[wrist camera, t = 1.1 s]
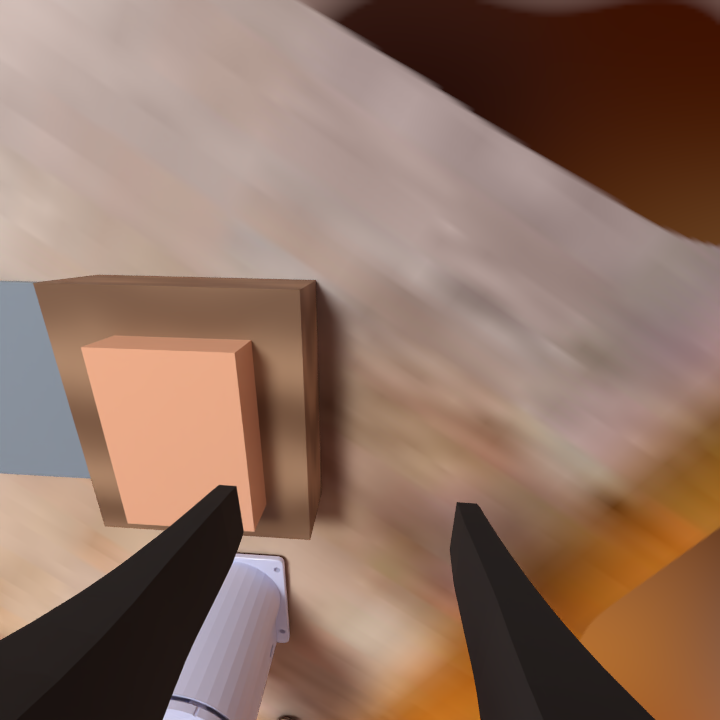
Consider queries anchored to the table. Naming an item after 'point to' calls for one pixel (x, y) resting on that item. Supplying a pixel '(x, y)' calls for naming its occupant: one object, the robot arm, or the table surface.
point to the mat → (33, 393)
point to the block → (178, 423)
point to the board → (208, 321)
